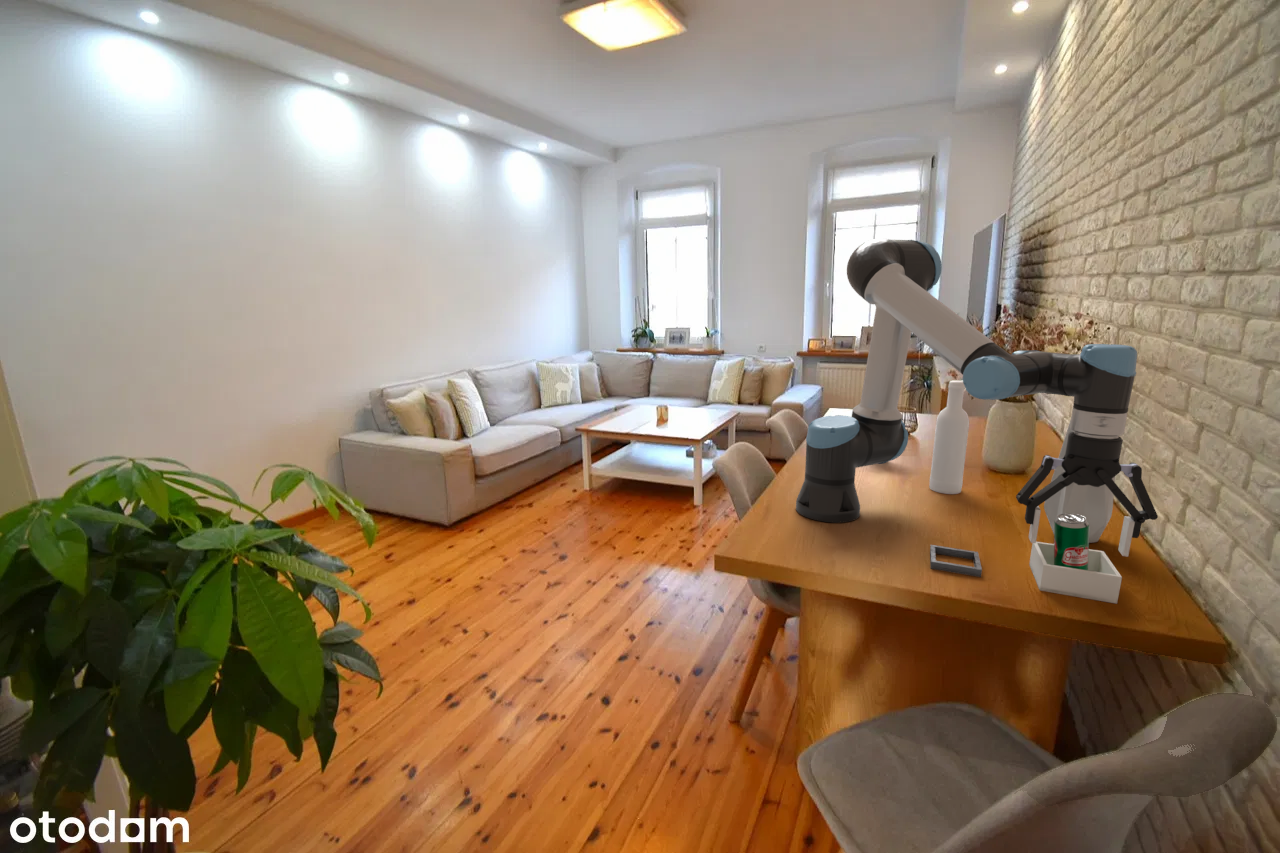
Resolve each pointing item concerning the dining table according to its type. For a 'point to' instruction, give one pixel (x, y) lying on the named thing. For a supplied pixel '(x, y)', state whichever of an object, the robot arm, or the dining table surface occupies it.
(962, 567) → the socket ring
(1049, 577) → the bin
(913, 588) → the dining table surface
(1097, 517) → the vase
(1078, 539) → the soda can
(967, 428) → the bottle
